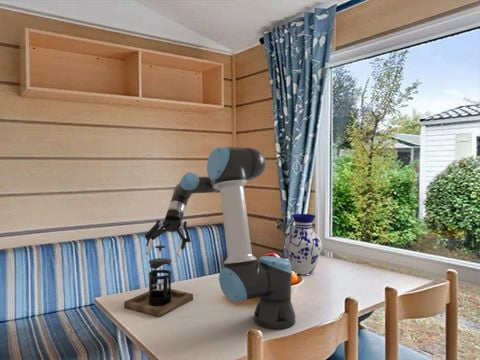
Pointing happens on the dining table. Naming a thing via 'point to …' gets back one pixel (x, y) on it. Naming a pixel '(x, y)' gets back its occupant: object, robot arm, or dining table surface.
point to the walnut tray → (143, 306)
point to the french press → (159, 290)
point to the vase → (303, 245)
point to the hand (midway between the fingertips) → (162, 254)
